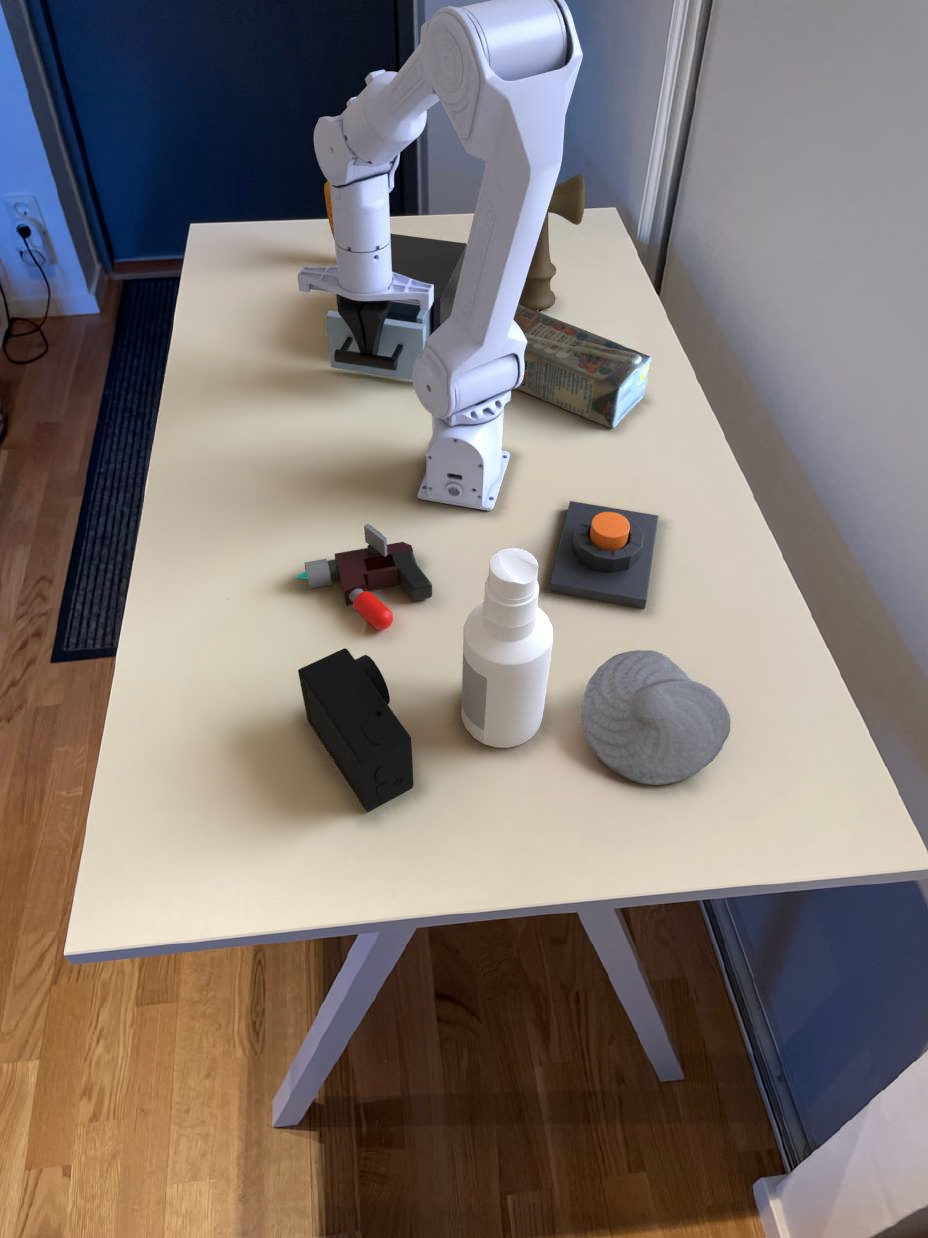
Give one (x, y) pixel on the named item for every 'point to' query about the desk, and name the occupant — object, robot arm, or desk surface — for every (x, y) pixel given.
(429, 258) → the drawer cabinet
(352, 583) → the toy gun
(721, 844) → the desk surface
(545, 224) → the kendama
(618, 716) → the seashell
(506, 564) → the white plastic bottle
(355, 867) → the desk surface
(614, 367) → the beverage carton
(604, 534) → the button
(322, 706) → the digital camera
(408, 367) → the light blue drawer
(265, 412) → the desk surface
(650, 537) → the panel
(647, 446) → the desk surface
